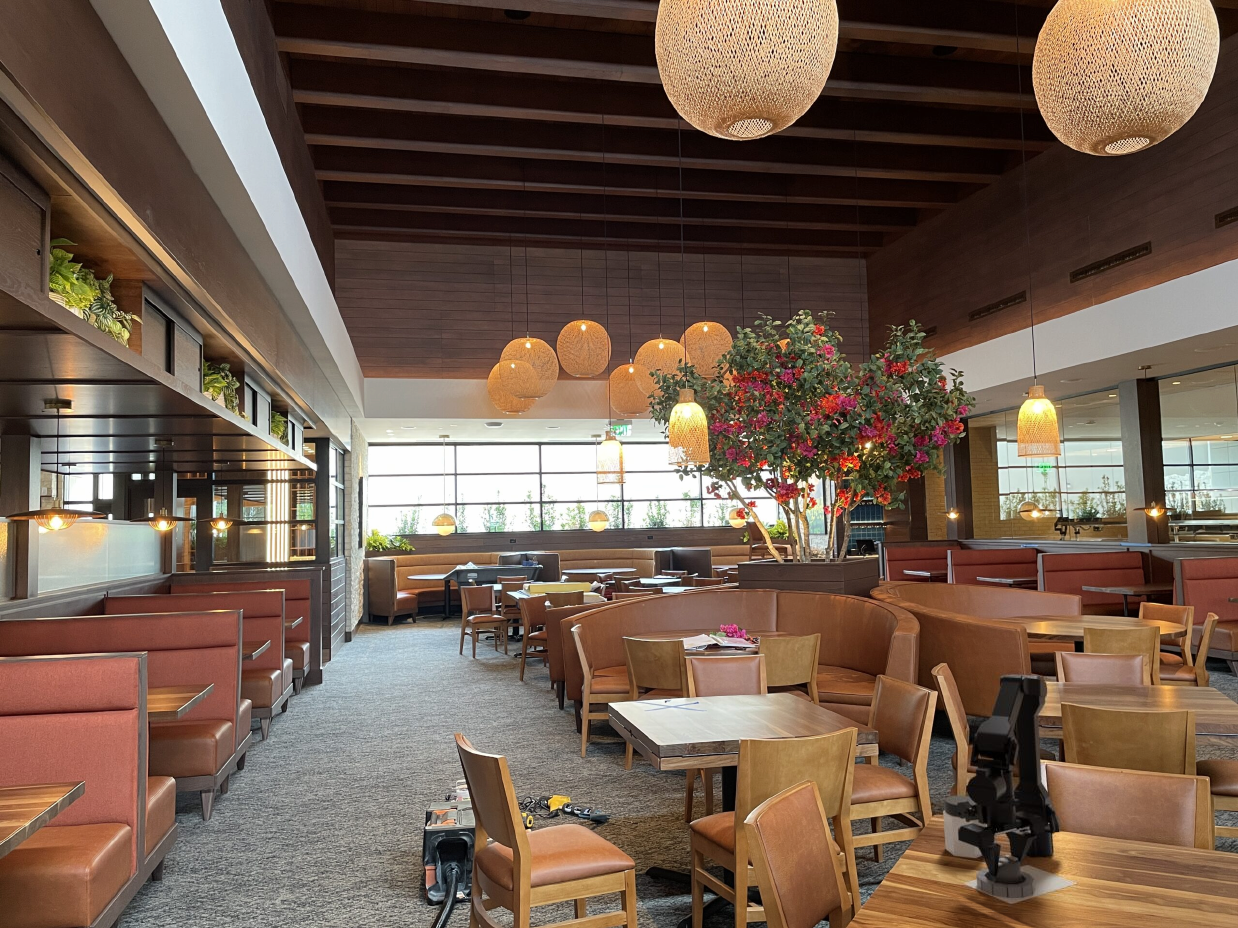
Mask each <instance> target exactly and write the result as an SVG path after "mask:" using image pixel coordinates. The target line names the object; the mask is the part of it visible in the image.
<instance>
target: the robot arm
mask: <svg viewBox="0 0 1238 928" xmlns="http://www.w3.org/2000/svg"><path fill="white" fill-rule="evenodd" d="M999 679H1000V680H999V690H998V694H997V697H996V699H995V702H994V705H993V709H992V711H991V714H990V717H989V719H987V720H986V721H984V722H981V724H980V726H979V727H978V729H977V731H976V733H975V734H974V736H973V741H972V749H971V754H970V755H971V756H970V761H969V766H970V767H975V768H976V769H975V775H974V776H973V777H971V778H970V779H969V780H968V782H967V785H966V791H967V796H969V797H970V798H971V800H972V801H974V802H975V804H970V803H969V802H968V801H965V802H959V803H957V812H958V815H959V817H960V818H961V819H964V818H965V820H966V822H970V821H972V820H978V822H979V823H981V824H986V827H983V826H980V825H977V824H974V823H972V824H968V825H964V826H961V827H960V828H959V829H958V840H959V841H962V842H965V843H967V844H970V845H973V846H975V847H978V849H979V850H980V852H981V854H982V856H981V857H983V860H984V863H985V865H986V867H987V868H988V870H989V872H990V874H991V876H994V877H995V876H996V875H997V871H998V864H999V856H1000V855H1001V850H1002V849H1001V848H1002V847H1001V846H1002V845H1001V844H999V843H997V842H996V836H999V835H1003V834H1005V835H1006V837H1007V839H1008V842H1009V849H1010V855H1011V856H1013V857H1016V858H1018V860H1019V861H1020V867H1022V864H1023V861H1024V859H1025V857H1028V858H1030V859H1031V858H1049V857H1051V856H1053V853H1054V839H1053V835H1055V834H1056V833H1060V832H1061V828H1060V826H1061V825H1060V820H1059V819H1060V818H1059V816H1058V813H1057V812H1056V809H1055V807H1054V805H1053V804H1052V798H1051V794H1050V793H1049V791H1048V789H1047V788H1046V787H1045V785H1044V784H1043V781H1042V780H1043V779H1042V763H1041V745H1040V729H1039V727H1040V726H1039V725H1040V724H1039V715H1040V713H1041V711H1042V709H1043V708H1044V706H1045V704H1046V697H1047V695H1048V684H1047V681H1046V680H1043V679H1042V678H1041V676H1040V675H1034V674H1031V675H1030V674H1016V673H1015V674H1014V673H1011V674H1004V675H1001V676H1000V678H999ZM1015 727H1016V735H1015V733H1014V729H1015ZM1016 764H1018V765H1017V766H1018V784H1017V785H1016V787H1015V788H1014V777H1013V768H1014V767H1015V766H1016Z"/></svg>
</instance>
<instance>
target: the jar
mask: <svg viewBox="0 0 1238 928" xmlns="http://www.w3.org/2000/svg"><path fill="white" fill-rule="evenodd" d="M943 800H944V801H943V802H944V804H943V805H944V810H943V811H942V814H943V829H944V841H945V842H944V843H945V850H946V851H948V852H949V853H950V854H951V855H953V856H954V857H963V858H973V859H977V858H980V857H983V856H982V854H981V852H980V850H979V849H978V847H975V846H973V845H970V844H967V843H965V842H962V841H959V840H958V829H959V828H960V827H961V826H964V825H968V824H972V823H974V824H977V825H980V826H983V827H987V824H981V823H979V822H978V820H972V821H970V822H966V820H965V818H964V819H961V818H960V817H959V815H958V812H957V803H959V802H965V801H968V802H969V803H970V804H975V802H974V801H972V800H971V798H970V797H969V795H951V796H948V797H946V798H944V799H943Z"/></svg>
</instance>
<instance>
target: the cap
mask: <svg viewBox="0 0 1238 928" xmlns="http://www.w3.org/2000/svg"><path fill="white" fill-rule="evenodd" d="M1020 867H1021V866H1020V861H1019V860H1018V858H1016V857H1013V856H1011V854H1006V855H1005V854H1000V856H999V864H998V871H997V875H996V876H995V877H994V876H991V874H990V872H989V877H990V881H993V882H995V883H1001V884H1020V883H1022V877H1021V868H1020Z"/></svg>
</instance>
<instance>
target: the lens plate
mask: <svg viewBox="0 0 1238 928" xmlns="http://www.w3.org/2000/svg"><path fill="white" fill-rule="evenodd" d="M1020 868H1021V877H1022V883H1020V884H1001V883H995V882H993V881H990V877H989V870H988V868H983V869H980V870H978V872H977V873H976V874H975V875H976V879H973V880H970V881H967V882H963V883H962V884H963V885H965V886H967V887H970V888H973V889H974V890H977V891H979V892H981V893H983V894H986V895H989V896H991V897H993V898H996V899H998V900H1000V901H1003V902H1005V903H1008V904H1009V905H1012V904H1016V903H1019V902H1022V901H1026V900H1029V899H1033V898H1035V897H1038V896H1042V895H1045V894H1048V893H1052V892H1054V891H1059V890H1061V889H1065V888H1068V887H1071V886H1074V885H1078V884H1079V883H1078V882H1075V881H1072V880H1069V879H1067V878H1064V877H1062V876H1059V875H1056V874H1053V873H1052V872H1051V873H1050V872H1048V871H1045V870H1042V869H1040V868H1037V867H1035V866H1031V865H1029V864H1027V865H1023V866H1020Z"/></svg>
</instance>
